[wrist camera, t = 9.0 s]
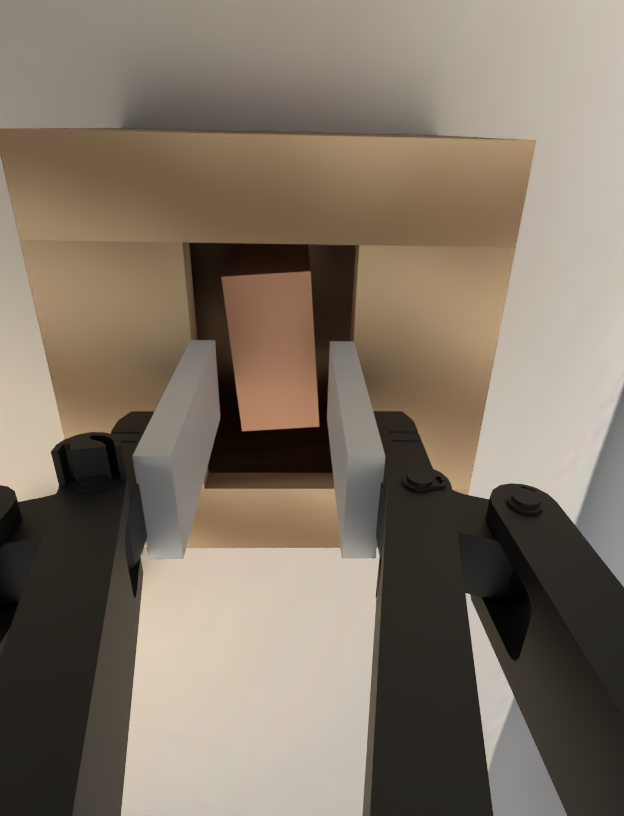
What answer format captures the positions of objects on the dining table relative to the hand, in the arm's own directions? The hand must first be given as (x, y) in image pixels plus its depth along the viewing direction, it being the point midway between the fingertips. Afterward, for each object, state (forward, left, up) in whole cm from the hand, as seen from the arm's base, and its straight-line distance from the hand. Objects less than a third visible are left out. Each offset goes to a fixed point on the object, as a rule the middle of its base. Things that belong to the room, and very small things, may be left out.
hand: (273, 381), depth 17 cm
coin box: (0, 0, -11) cm, 11 cm away
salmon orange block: (0, 0, -10) cm, 10 cm away
